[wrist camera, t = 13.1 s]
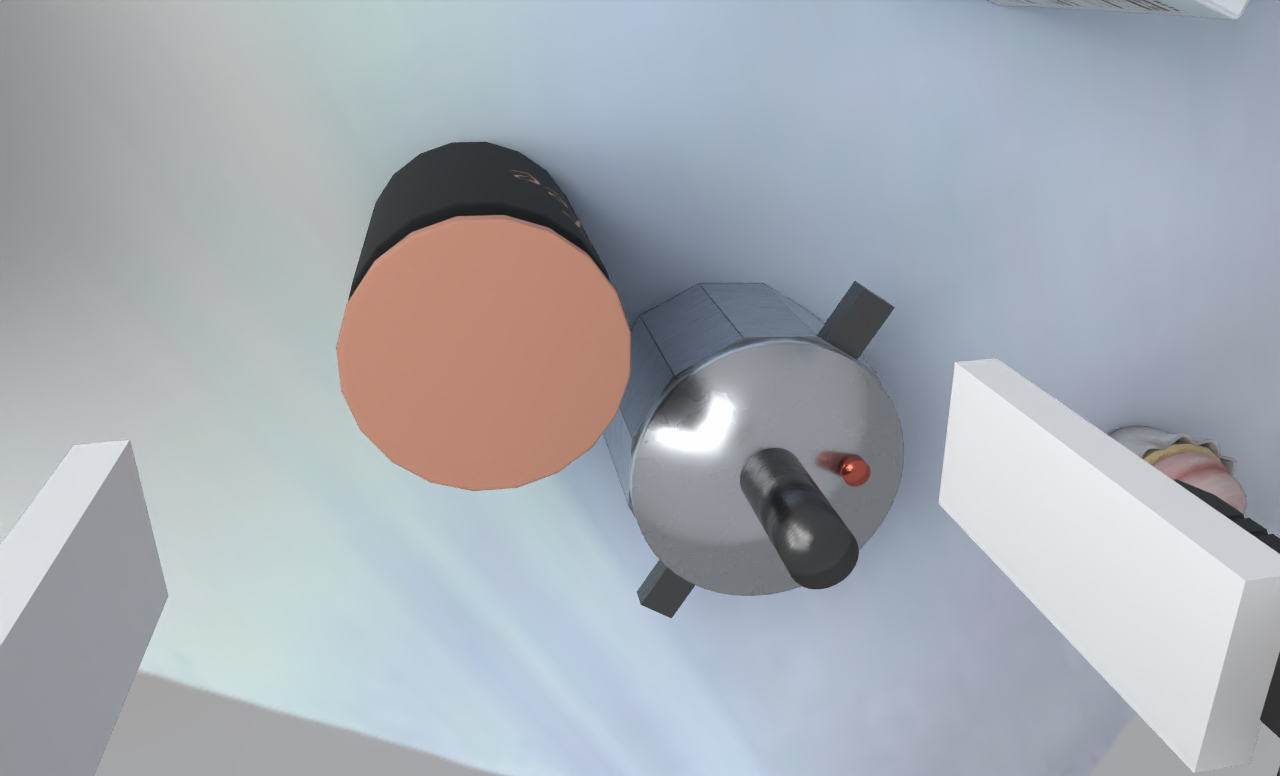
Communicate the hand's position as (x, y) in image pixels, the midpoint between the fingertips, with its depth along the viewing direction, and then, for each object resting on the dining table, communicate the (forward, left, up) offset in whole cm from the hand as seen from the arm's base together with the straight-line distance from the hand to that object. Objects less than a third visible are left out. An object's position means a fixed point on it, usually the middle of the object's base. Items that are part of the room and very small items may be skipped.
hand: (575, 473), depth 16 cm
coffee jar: (+2, -5, -38) cm, 38 cm away
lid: (+19, -6, -30) cm, 36 cm away
